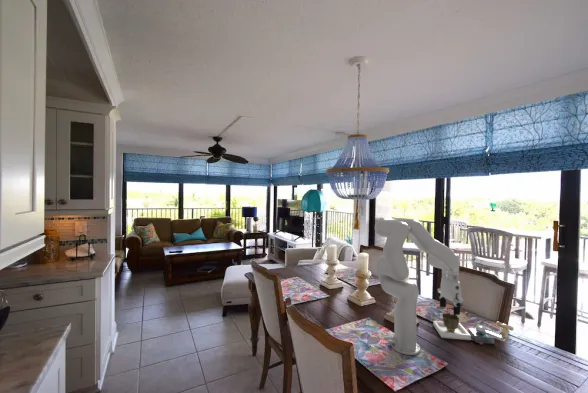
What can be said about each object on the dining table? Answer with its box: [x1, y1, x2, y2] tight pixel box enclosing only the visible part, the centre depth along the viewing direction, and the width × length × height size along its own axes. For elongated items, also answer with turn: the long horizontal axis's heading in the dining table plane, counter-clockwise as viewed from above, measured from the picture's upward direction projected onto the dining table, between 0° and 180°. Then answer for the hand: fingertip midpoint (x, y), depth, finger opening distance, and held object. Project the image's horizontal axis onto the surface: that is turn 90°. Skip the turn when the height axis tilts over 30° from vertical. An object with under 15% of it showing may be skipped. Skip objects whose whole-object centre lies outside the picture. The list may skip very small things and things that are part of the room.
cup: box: [442, 312, 460, 332], centre depth 137 cm, size 8×7×8 cm
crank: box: [475, 321, 514, 342], centre depth 125 cm, size 15×4×8 cm, turn 29°
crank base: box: [467, 327, 495, 345], centre depth 130 cm, size 8×8×3 cm
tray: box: [432, 320, 472, 341], centre depth 137 cm, size 13×13×2 cm
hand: (449, 310), depth 136 cm, fingers open, 9 cm apart
